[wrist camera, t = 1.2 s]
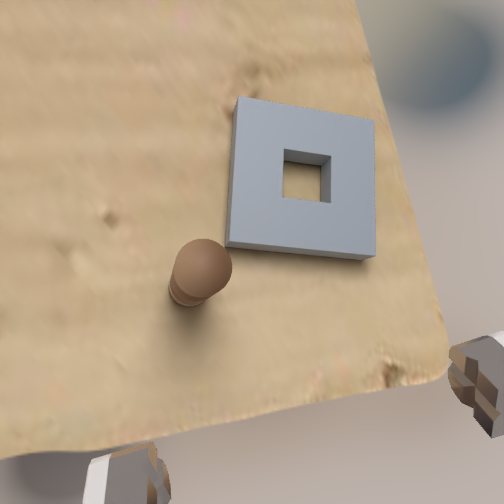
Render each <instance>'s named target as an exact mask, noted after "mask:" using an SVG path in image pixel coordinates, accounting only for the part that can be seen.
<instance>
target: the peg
mask: <svg viewBox="0 0 504 504" xmlns="http://www.w3.org/2000/svg"><path fill="white" fill-rule="evenodd" d="M231 273H232V262H231V258H230V256H229V254H228V252H227V251H226V249H225V248H224V247H223V246H221V245H220V244H219V243H217V242H215V241H213V240H209V239H197V240H194V241H191V242H189V243H187V244H186V245H185V246H184V247H182V249H181V250H180V251H179V253H178V255H177V257H176V260H175V264H174V267H173V271H172V275H171V277H170V281H169V293H170V296H171V298H172V299H173V300H174V301H175V302H176V303H177V304H179V305H181V306H184V307H193V306H196V305H198V304H200V303H202V302H204V301H205V300H206V299H208V298H209V297H211V296H212V295H214V294H216V293H217V292H219V291H220V290H221V289H223V288H224V287H225V286H226V284H227V283H228V281H229V279H230V277H231Z"/></svg>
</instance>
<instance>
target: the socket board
mask: <svg viewBox="0 0 504 504" xmlns="http://www.w3.org/2000/svg"><path fill="white" fill-rule="evenodd" d="M283 160H284V161H291V162H298V163H305V164H312V165H318V166H321V202H317V201H309V200H301V199H293V198H285V197H282V184H283ZM225 247H233V248H243V249H253V250H264V251H274V252H284V253H294V254H304V255H315V256H325V257H335V258H345V259H356V260H365V259H368V258H371V257H374V256H376V218H375V136H374V120H371V119H365V118H360V117H354V116H349V115H343V114H337V113H332V112H326V111H321V110H315V109H309V108H304V107H298V106H293V105H287V104H281V103H276V102H270V101H265V100H259V99H253V98H248V97H242V96H238V99H237V102H236V105H235V108H234V113H233V129H232V144H231V159H230V175H229V190H228V205H227V221H226V236H225Z"/></svg>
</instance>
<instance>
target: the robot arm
mask: <svg viewBox="0 0 504 504" xmlns="http://www.w3.org/2000/svg"><path fill="white" fill-rule="evenodd" d="M449 358H450V359H451V360H452V361H453V363H452V364H451V366H450V367H449V368H448V379H449V382H450V385H451V388H452V390H453V391H454V393H455V395H456V396H457V397H458V399H459V400H460V401H461V402H462V403H463V404H465V405H467V406H470V407H472V408H473V417H474V418H475V419H476V421H477V422H478V423H479V424H480V425H481V427H482V428H483V429H484V430H485V431H486V433H487V434H488V435H489V436H490V437H491V438H495V437H498V436H501V435H504V330H502V331H499V332H496V333H492V334H489V335H487V336H482V337H479V338H476V339H473V340H470V341H467V342H464V343H461V344H458V345H455V346H452V347H451V348H450V350H449ZM170 499H171V487H170V480H169V474H168V471H167V468H166V465H165V463H164V461H163V460H161V459H159V458H157V448H156V447H155V445H154V443H153V442H149V443H146V444H142V445H139V446H136V447H132V448H128V449H125V450H122V451H118V452H114V453H111V454H108V455H105V456H101V457H98V458H95V459H92V460H91V463H90V465H89V467H88V472H87V479H86V484H85V491H84V496H83V502H82V504H168V503H169V501H170Z"/></svg>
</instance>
